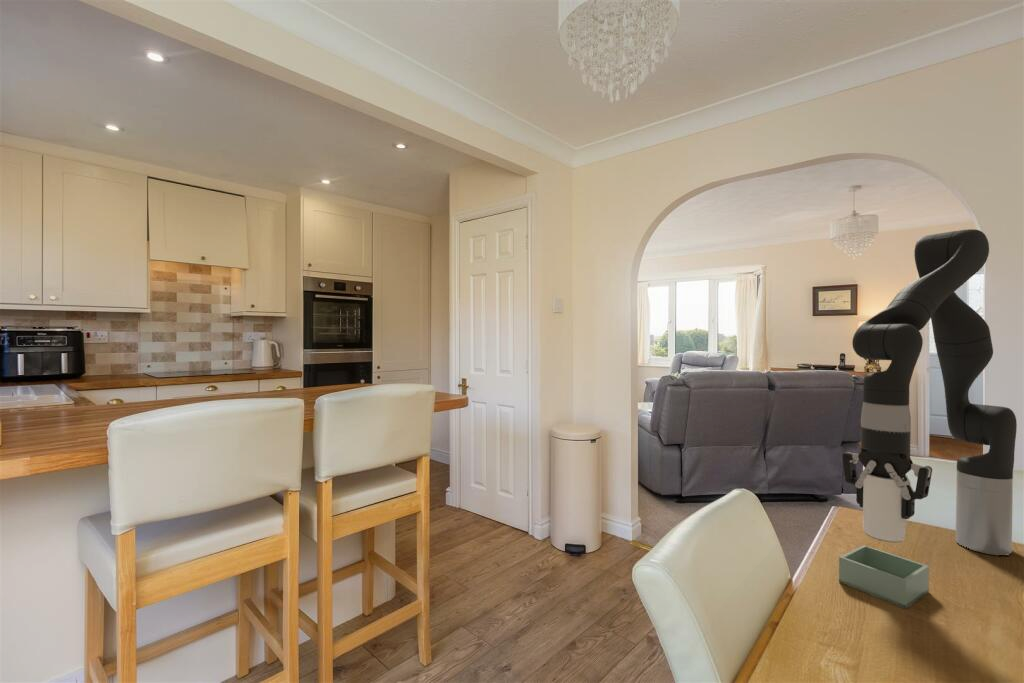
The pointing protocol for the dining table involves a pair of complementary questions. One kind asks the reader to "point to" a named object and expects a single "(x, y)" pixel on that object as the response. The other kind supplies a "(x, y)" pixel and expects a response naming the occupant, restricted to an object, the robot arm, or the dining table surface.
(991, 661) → the dining table surface
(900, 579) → the bin
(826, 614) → the dining table surface
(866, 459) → the robot arm
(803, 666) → the dining table surface
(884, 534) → the can
